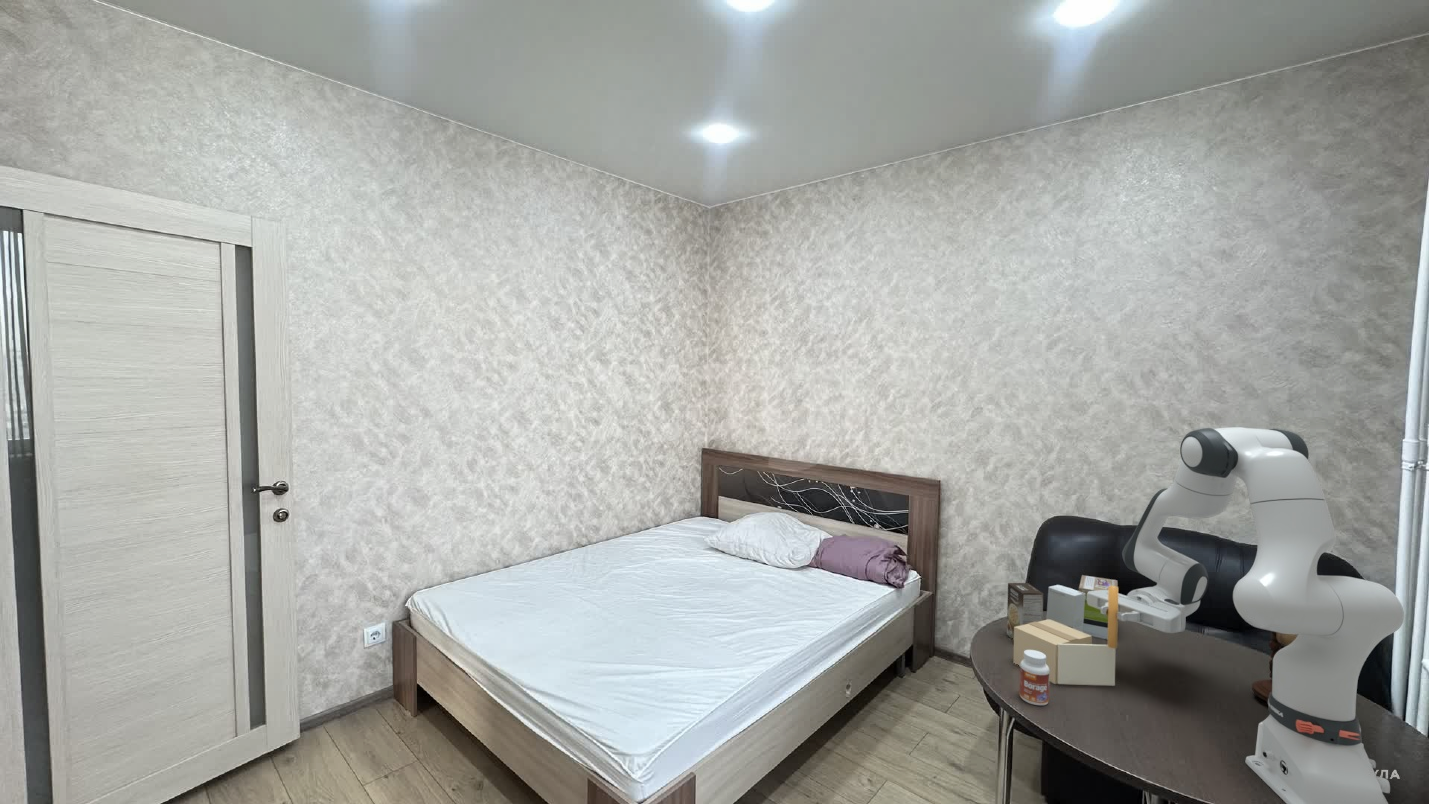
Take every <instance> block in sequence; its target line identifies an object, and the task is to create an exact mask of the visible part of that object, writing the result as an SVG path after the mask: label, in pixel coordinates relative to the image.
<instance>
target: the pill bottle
mask: <svg viewBox="0 0 1429 804" xmlns="http://www.w3.org/2000/svg"><path fill="white" fill-rule="evenodd" d="M1045 663H1046V655H1045V654H1043V653H1042V652H1039V651H1036V650H1025V651H1024V660H1022V661H1021V663H1020V666H1019V697H1020V698H1021V699H1022V701H1024V702H1026V703H1028V704H1030V705H1034V706H1046V705H1048V704H1049V700H1050V681H1049V667H1048V666H1047V665H1046V664H1045Z"/></svg>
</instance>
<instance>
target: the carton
mask: <svg viewBox="0 0 1429 804" xmlns="http://www.w3.org/2000/svg"><path fill="white" fill-rule="evenodd" d="M1058 644H1093V637H1092V636H1091V635H1088V634H1086V633H1083V632H1081V631H1078V630H1076V629H1073V628H1071V627H1068V626H1065V625H1063V624H1060V623H1058V622H1055V621H1053V620H1050V619H1048V620H1046V619H1043V621H1039V622H1031V623H1028V624H1025V625H1021V626H1016V627H1014V640H1013V664H1014V663H1015V664H1014V665H1016V664H1018V665H1019V666H1018V665H1017V666H1018V667H1020V663H1021V661H1022V660H1024V651H1025V650H1036V651H1039V652H1042V653H1043V654H1045V655H1046V663H1045V664H1046V665H1047V666H1048V667H1049V683H1052V684H1054V685H1056V684H1057V685H1058V683H1057V675H1058Z"/></svg>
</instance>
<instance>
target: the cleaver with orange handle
mask: <svg viewBox="0 0 1429 804" xmlns="http://www.w3.org/2000/svg"><path fill="white" fill-rule="evenodd" d="M1118 593H1119V586H1118V587H1116V586H1109V592H1108V640H1107V644H1095V643H1092V644H1058V675H1057V685H1084V686H1085V685H1087V686H1113V687H1114V686H1115V685H1116V649H1118V635H1119V634H1118V633H1119V631H1118V630H1119V620H1118V619H1117V613H1118Z"/></svg>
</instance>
